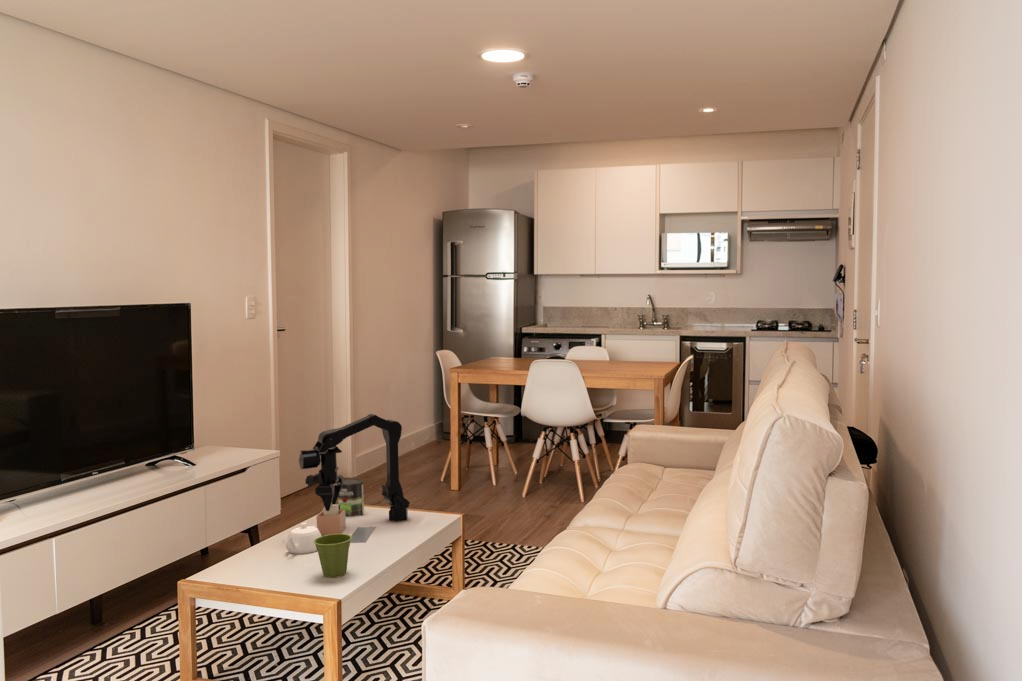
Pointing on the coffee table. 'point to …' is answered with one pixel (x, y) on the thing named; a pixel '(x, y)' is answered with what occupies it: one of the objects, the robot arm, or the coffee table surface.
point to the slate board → (362, 534)
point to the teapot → (302, 539)
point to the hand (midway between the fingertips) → (330, 507)
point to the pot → (331, 523)
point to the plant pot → (333, 553)
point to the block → (331, 510)
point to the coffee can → (351, 497)
